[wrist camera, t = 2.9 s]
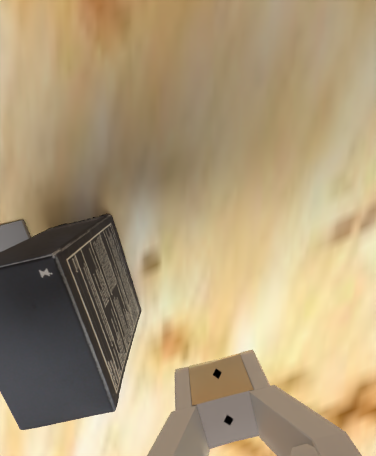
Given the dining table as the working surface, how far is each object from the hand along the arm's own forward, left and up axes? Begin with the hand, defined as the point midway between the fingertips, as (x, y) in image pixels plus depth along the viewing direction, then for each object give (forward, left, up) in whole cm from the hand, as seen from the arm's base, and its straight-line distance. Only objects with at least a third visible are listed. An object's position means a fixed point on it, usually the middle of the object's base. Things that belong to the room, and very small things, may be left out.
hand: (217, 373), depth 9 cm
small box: (+9, 0, -15) cm, 17 cm away
